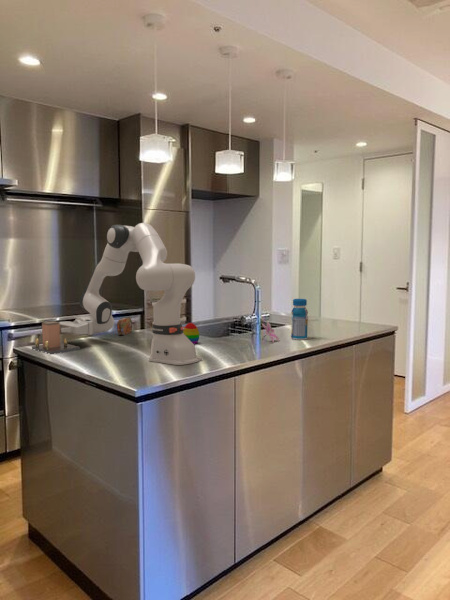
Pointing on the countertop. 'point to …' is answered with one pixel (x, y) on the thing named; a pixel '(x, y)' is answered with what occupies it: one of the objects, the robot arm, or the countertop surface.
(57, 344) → the block
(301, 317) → the beverage bottle
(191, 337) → the decorative egg
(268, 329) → the lily
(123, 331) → the tin
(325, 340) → the countertop surface
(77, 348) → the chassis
